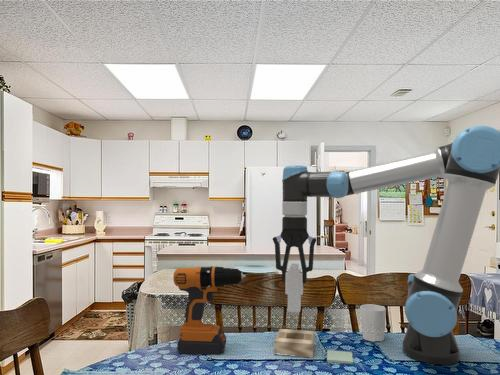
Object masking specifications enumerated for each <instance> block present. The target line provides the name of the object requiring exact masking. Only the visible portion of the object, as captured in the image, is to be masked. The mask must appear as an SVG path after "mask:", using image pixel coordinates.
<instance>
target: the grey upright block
mask: <svg viewBox="0 0 500 375" xmlns="http://www.w3.org/2000/svg"><path fill="white" fill-rule="evenodd" d="M287 271H288V294H287V312H288V313H300V312H301V310H302V309H301V308H302V304H301V301H302V300H301V299H302V295H300V272H302V269H299V263H291V264H290V266H289V269H287Z"/></svg>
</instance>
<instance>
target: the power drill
mask: <svg viewBox="0 0 500 375" xmlns="http://www.w3.org/2000/svg"><path fill="white" fill-rule="evenodd" d="M246 277H247V276H246V275H245V274H243V271H241V270H240V269H239V268H230V267H225V268H224V266H214V265H213V266H211V265H210V266H197V267H180V268H176V269H175V271H174V273H173V284H174V286H176V287H178V290H179V291H183V292H186V293H187V294H188V299H187V301H186V305H185V306H186V307H185V312H184V316H185V317H184V318H185V320H184V321H185V322H183V324H182V325H181V327H180V329H179V333H180V334H179V340H178V341H177V351H178V352H179V353H180V354H186V355H187V354H190V355H211V354H218V355H219V354H222V353H223V352H224V351H225V347H226V344H227V336H226V334H225V332H224V331H223V329H222V328H221V326H220V325H219V324H218V325H217V324H213V323H203V322H202V319H203V316H204V312H205V303H209V302H210V301H212V302H213V301H214V297H213V294H215V293H216V292H217V291H218V288H219V287H224V286H230V285H238V284H240V283H242V281H243V280H244V278H246Z"/></svg>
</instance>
